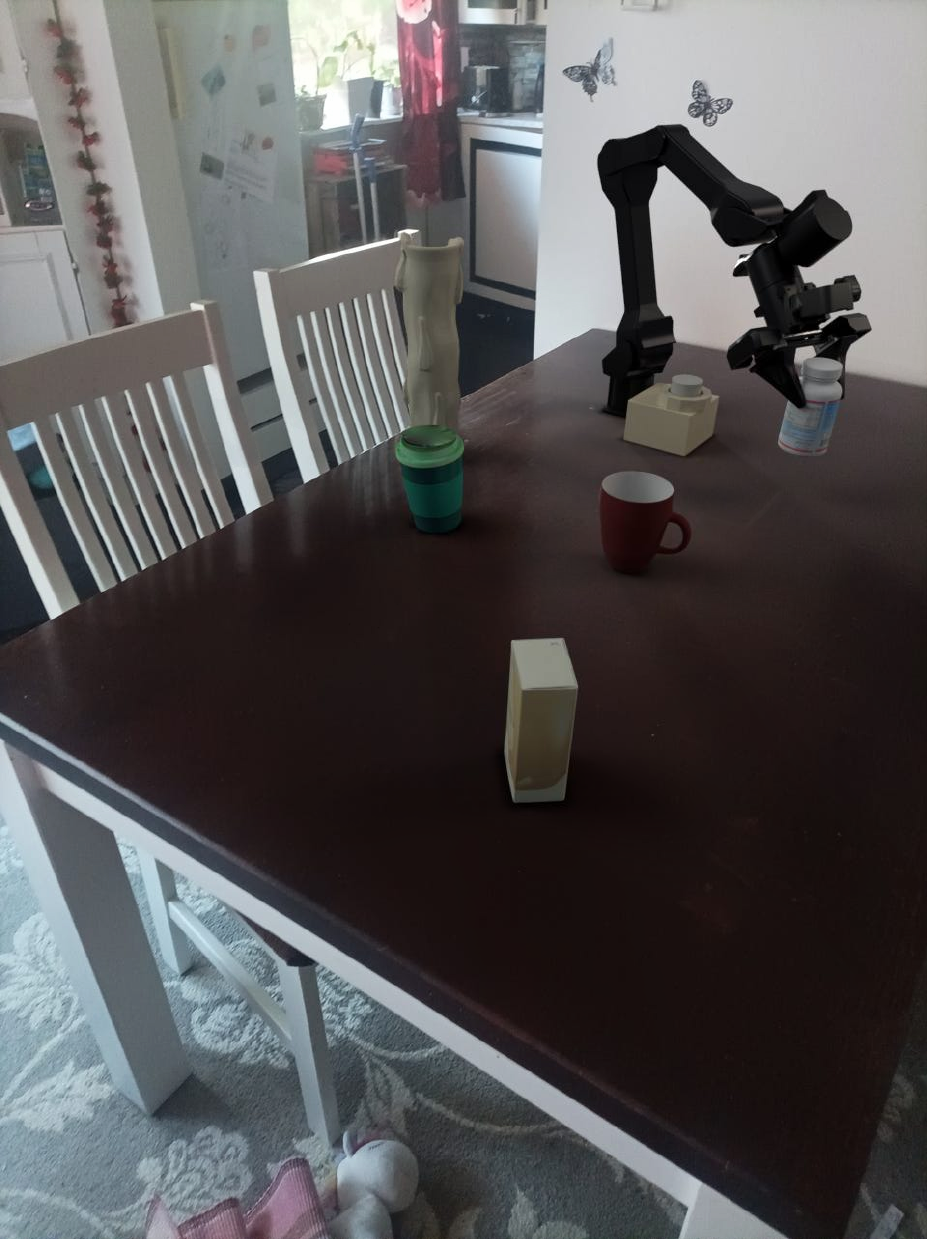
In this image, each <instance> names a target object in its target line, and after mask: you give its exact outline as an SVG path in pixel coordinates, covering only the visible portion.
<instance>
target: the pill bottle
mask: <svg viewBox="0 0 927 1239" xmlns="http://www.w3.org/2000/svg"><path fill="white" fill-rule="evenodd" d="M842 368H843V365H842V364H841V363H840V362H838V361H835V360H832V359H828V358H819V357H815V358H813V357H808V358H806V359H804V360H803V363H802V365H801V368H800V375H801V376H798V377H799V380H800V383H801V386H802V389H803V392H804V396H805V401H806V406H805V407H803V408H801V409H798V408H797V407H795V406H794V405H793V404H792V403H791V402H790V401H789V400H788V399H787V404H786V408H785V411H784V415H783V419H782V424H781V427H780V432H779V436H778V441H777V445H778V446H779V448H780V449H781V450H783V451H784V452H786V453H787V454H790V455H792V456H796V457H801V458H815V457H816V458H817V457H820V456H823V455H824V454H825V453H826V452H827V450H828V448H829V444H830V440H831V436H832V434H833V433H832V432H833V429H834V425H835V421H836V418H837V414H838V411H839V406H840V403H841V401H840V399H841V395H842V387H841V385H840V384H839V383H838V382H837V380H838V379H839V378H840V376H841V372H842Z"/></svg>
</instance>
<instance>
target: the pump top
mask: <svg viewBox="0 0 927 1239" xmlns="http://www.w3.org/2000/svg"><path fill="white" fill-rule="evenodd" d="M703 384H704V380H703V378H702V377H699V376H696V375H693V374H676V375H674V376H672V378H671V388H670V393H671V394H673V395H676V396H680V397H691V398H692V397H699V396H701V391H702V386H704V385H703Z"/></svg>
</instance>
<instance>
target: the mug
mask: <svg viewBox="0 0 927 1239" xmlns="http://www.w3.org/2000/svg"><path fill="white" fill-rule="evenodd" d="M675 492H676V491H675V486H674V485H673V483H671V481H669V480H668V479H666V478H664V477H662V476H661V475H657V474H654V473H650V472H645V471H638V470H637V471H636V470H626V471H618V472H613V473H610V474H608V475H606V476H605V477H604V478H603V479H602V480H601V483H600V489H599V495H598V520H599V521H598V522H599V533H600V534H599V535H600V545H601V548H602V550H603V553H604V555H605V557H606V560H607V562H608V564H609V565H610V567H611V568H612V569H613V570H614V571H617V572H620V573H623V574H635V573H639V572H641V571H643V570H644V569H645V568H646V567H647V565H649V563H650V562H651V561H652V560H653V558H654V557H655V556H656V555H657V554H659V555H675V554H678V553H681V552H682V551H684V550H685V549H686V548H687V547H688V545H689V544H690V543H691V542H690V541H691V539H692V527H691V523H690V522H689V520H688V519H687V518H686V517H685V516H684V515H683V514H681V513H678V512H675V511H673V509H674V500H675ZM669 523H673V524H675V525H677V526H678V527H679V529H680V530H681V540H680V541H679V542H678V543H677V544H675V545H669V546H664V545H661V544H662V541H663V538H664V536H665V532H666V530H667V528H668V525H669Z"/></svg>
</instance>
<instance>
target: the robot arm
mask: <svg viewBox="0 0 927 1239" xmlns="http://www.w3.org/2000/svg"><path fill="white" fill-rule="evenodd" d="M596 158H597V159H596V167H597V172H598V173H597V174H598V178H599V183H600V187H601V191H602V192H603V194H604V196H605V197H606V199H607V200H608V202H609V204H610V205H611V206H612V208H613V211H614V219H615V227H616V228H615V229H616V238H617V239H616V240H617V251H618V259H619V271H620V281H621V292H622V301H623V302H622V303H623V313H622V316H621V318H620V321H619V322H618V326H617V328H616V331H615V346H614V348H613V349H612V350H610V352H608V353H607V354H606V355H605V356H604V357H603V358H602V359H601V367H602V374H603V375H605V376H608V377H609V383H608V393H607V403H606V405H605V406H603V407H601V412H603V413H606V414H610V415H614V416H618V417H621V418H625V419H626V415H627V406H628V400H630V399H631V398H633V397H635V396H636V395H638V394H640V393H641V392H643V391H645V390H646V389H648V388H650V387H651V386H653V385H655V384H654V383H655V376H656V374H662V373H663V372H664V370H665V369H666V365H667V363H668V362H669V360H670V358H671V357H672V356H673V355H674V354H673V353H674V344H676V343H677V341H676V340H677V339H676V337H675V333H674V327H675V326H674V323H675V320H674V318H673V316H672V315H670V314H669V315H665V314H664V313H663V311H662V310H661V308H660V306H659V303H658V295H657V294H658V293H657V283H656V282H657V281H656V270H655V258H654V250H653V249H654V247H653V236H652V223H651V211H650V200H651V198H652V196H653V193H654V191H655V188H656V185H657V183H658V176H659V173H658V172H659V169H660V168H662V167H665V168H666V169H667V170H669V172H671V173H672V174H673V176H675V177H676V178H677V179H678V180H679V182H681V183H682V184H683V185H684V186H685V188H687V189H688V190H689V191H690V192H691V193H692V194H693V195H694V196H695V198H697V199H698V200H699V201H700V202H701V203H702V204H703V205H705V207H706V209H707V210H708V211H709V216H710V223H711V225H712V228H714V230H715V231H716V233H717V234H718V236H719V237H720V239H721V240H722V242H724V244H725V245H727V246H728V247H731V248H739V247H745V246H746V247H748V246H755V245H757V247H755V248H754V249H753V250H752V251H750V253H741V254H739V255H738V260H737V263H736V265H735V266H734V268H733V270H732V277H734V278H741V277H742V278H743V277H748V278H749V281H750V283H751V286H752V289H753V292H754V294H755V298H756V300H757V303H758V306H757V307H756V308H755V309H754V310H753V314H754V316H755V319H760V318H763V320H764V322H765V326H759V327H753V328H749V330H748V329H747V331H746V332H744V333H743V334H742V335H741V336H739V338H737V339H736V340H735V341H733V342H732V343H731V344H730V345H729V346H728V347H727V352H726V361H727V363H728V366H729V368H730V370H731V371H736V370H743V369H747V368H748V371H749V373H750V374H756V375H757V376H759V377H760V378H761V379H762V380H764V382H766V383H768V384H769V385H770V386H771V387H773V388H774V389H775V390H776V391H778V392H779V394H781V395H782V396H783V397H784V398H785V399H786V400H787V401H788V400H789V401H790V402H791V403H792V404H793V405H794V406H795V407H797V408H798V409H801V408H803V407H805V406H806V401H805V396H804V392H803V389H802V386H801V383H800V380H799V377H800V376H799V374H798V370H797V367H796V365H795V358H796V352H797V349H800V348H808V347H813V350H814V353H815V355H814V356H813V357H812V358H815V357H819V358H828V359H832V360H835V361H838V362H840V363H841V364H842V365H843V368H842V372H841V376H840V378H839V379H838V380H837V382H838V383H839V384H840V385H841V387H842V395H841V399H840V402H841V401H842V400H844V399H845V397H846V361H847V354H848V352H849V350H850V348H851V346H852V345H853V344H854V343H855V342H857V341H858V340H860V339H861V338H863V337H864V336H866V335H867V334H869V333H870V332H871V331H872V330H873V328H872V326H871V323H870V321H869V317H868V315H866V314H864V313H861V312H854V313H853V312H852V313H848V314H840V315H838V316H837V317H835V318H834V319H833V320H831V321H830V322H829V323H827V324H826V325H824V326H823V327H820V325H821V324H825V323H826V322H828V321H829V320H830V319H832V316H831V314H833V313H838V312H841V311H842V312H843V311H846V312H849V311H854V309H855V307H854V306H855V305H854V303H858V302H860V300H861V298H862V292H863V291H862V288H861V285H860V283H859V281H858V279H857V277H856V275H855V274H851V275H844V276H842V277H837V278H835V279H833V280H834V281H833V283H831V284H825V285H821V286H818V287H817V285H816V284H815V283H814V282H813V281H810V282H805V281H804V278H803V276H802V272H801V270H800V267H801V268H811V267H813V266H815V265H816V264H817V263H818V262H819V261H820V260H822V259H823V258H824V257H826V255H828V254H829V253H830V252H832V251H833V250H835V249H836V248H837V247H838V246H839V245H841V244H842V243H844V242H845V241H846V240H847V239H849V237H850V236H851V235H852V232H853V222H852V221H853V220H852V217H851V215H850V212H849V211H848V210H846V209H845V208H844V207H843V206H842V205H841V204H840V202H838V201H837V200H835V199H833V198H832V197H829V195H828V193H827V190H826V189H824V188H823V189H814V190H812V191H811V192H809V193H808V194H807V195H805V197H804V198H803V200H802V201H801V202H800V203H799V204H798V205H797V206H796V207H795V208H793V210H792V209H790V208H787V207H785V205H784V203H783V201H782V200H781V198H780V197H779V196H777V195H776V194H774V193H772V192H771V191H769V190H766V189H765V188H763V187H761V186H759V185H756V184H753V183H750V182H748V181H744V180H743V179H741V178H738V177H737V176H736V175H735V174H734V173H732V171H730V170H729V169H728V168H727V167H726V166H725V165H724V164H723V163H722V162H720V160H719V159H718V158H717V157H715V156H714V155H713V154H712V153H711V152H710V151H709V150H708V149H707V148H706V147H704V145H703V144H702V143H700V142H699V141H698V140H697V139H696V138H695V137H694V136H693V135H691V131H690V130H689V128H688V127H687V126H685V125H683V124H681V123H672V124H671V123H670V124H657V125H655V126H654V127H652V128H649V129H648V130H646V131H643V132H640V133H637V134H635V135H631V136H628V137H618V138H609V139H608V140H607V141H605V142H604V143H603V145H602V146H601V149H600V151H599V153H598V154H597V157H596ZM753 361H754V363H755V364H753V365H752V363H753ZM751 365H752V366H751Z"/></svg>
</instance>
